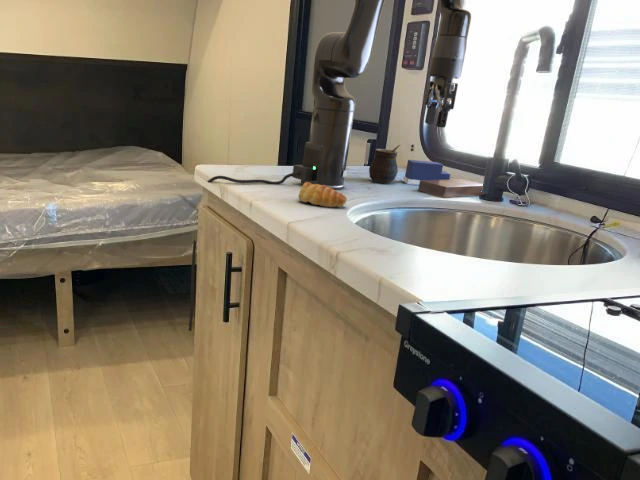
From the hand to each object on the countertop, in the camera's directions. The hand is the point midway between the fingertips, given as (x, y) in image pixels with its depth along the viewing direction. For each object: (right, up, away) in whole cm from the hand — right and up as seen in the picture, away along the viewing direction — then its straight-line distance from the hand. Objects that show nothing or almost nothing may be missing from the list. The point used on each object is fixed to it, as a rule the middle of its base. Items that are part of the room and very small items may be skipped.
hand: (434, 125), depth 152 cm
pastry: (-33, -25, -30) cm, 51 cm away
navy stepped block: (-1, -14, +5) cm, 15 cm away
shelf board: (+3, -18, -4) cm, 19 cm away
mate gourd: (-13, -14, +2) cm, 19 cm away
